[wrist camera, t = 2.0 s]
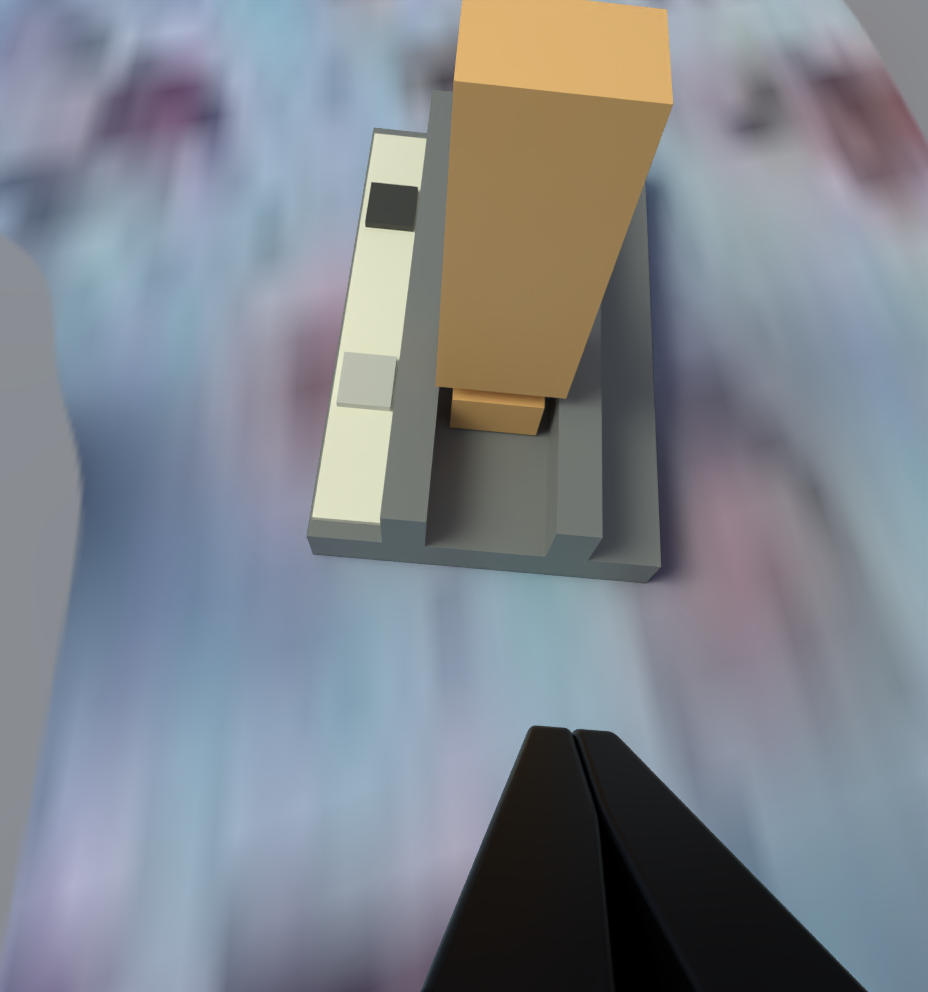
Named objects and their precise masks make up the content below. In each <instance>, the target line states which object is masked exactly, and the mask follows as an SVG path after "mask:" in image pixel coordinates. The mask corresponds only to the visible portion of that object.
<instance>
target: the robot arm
mask: <svg viewBox="0 0 928 992" xmlns="http://www.w3.org/2000/svg"><path fill="white" fill-rule="evenodd" d="M421 992H868V991H867V990H866V989H865V988H864V987H863V986H862V985H861V984H860V983H859V982H858V981H857V980H856V979H855V978H854V977H853V976H852V975H851V974H850V973H849V972H848V971H847V970H846V969H845V968H844V967H843V966H842V965H841V964H840V963H839V962H838V961H837V960H836V959H835V958H834V957H833V956H832V954H831V953H830V952H829V951H828V950H827V949H826V948H825V947H824V946H823V945H822V944H821V943H820V942H819V941H818V940H817V939H816V938H815V937H814V936H813V935H812V934H811V933H810V932H809V931H808V930H807V929H806V928H805V927H804V926H803V925H802V924H801V923H800V922H799V921H798V920H797V919H796V918H795V917H794V916H793V915H792V914H791V913H790V912H789V911H788V910H787V909H786V907H785V906H784V905H783V904H782V903H781V902H780V901H779V900H778V899H777V898H776V897H775V896H774V895H773V894H772V893H771V892H770V891H769V890H768V889H767V888H766V887H765V886H764V885H763V884H762V883H761V882H760V881H759V880H758V879H757V878H756V877H755V876H754V875H753V874H752V873H751V872H750V871H749V870H748V869H747V868H746V867H745V866H744V865H743V864H742V863H741V861H740V860H739V859H738V858H737V857H736V856H735V855H734V854H733V853H732V852H731V851H730V850H729V849H728V848H727V847H726V846H725V845H724V844H723V843H722V842H721V841H720V840H719V839H718V838H717V837H716V836H715V835H714V834H713V833H712V832H711V831H710V830H709V829H708V828H707V827H706V826H705V825H704V824H703V823H702V822H701V821H700V820H699V819H698V818H697V817H696V816H695V814H694V813H693V812H692V811H691V810H690V809H689V808H688V807H687V806H686V805H685V804H684V803H683V802H682V801H681V800H680V799H679V798H678V797H677V796H676V795H675V794H674V793H673V792H672V791H671V790H670V789H669V788H668V787H667V786H666V785H665V784H664V783H663V782H662V781H661V780H660V779H659V778H658V777H657V776H656V775H655V774H654V773H653V772H652V771H651V770H650V768H649V767H648V766H647V765H646V764H645V763H644V762H643V761H642V760H641V759H640V758H639V757H638V756H637V755H636V754H635V753H634V752H633V751H632V750H631V749H630V748H629V747H628V746H627V745H626V744H625V743H624V742H623V741H622V740H621V739H620V738H619V737H618V736H617V735H616V734H614V733H612V732H609V731H598V730H585V729H576V730H575V731H573V732H571V731H570V730H568V729H567V728H561V727H549V726H537V725H536V726H532V727H530V729H529V730H528V732H527V734H526V737H525V739H524V742H523V744H522V746H521V749H520V751H519V754H518V756H517V759H516V761H515V763H514V766H513V768H512V771H511V773H510V776H509V778H508V780H507V783H506V785H505V788H504V790H503V793H502V795H501V798H500V800H499V802H498V805H497V807H496V810H495V812H494V815H493V817H492V819H491V822H490V824H489V827H488V829H487V832H486V834H485V836H484V839H483V841H482V844H481V846H480V849H479V851H478V853H477V856H476V858H475V861H474V863H473V866H472V868H471V870H470V873H469V875H468V878H467V880H466V883H465V885H464V887H463V890H462V892H461V895H460V897H459V900H458V902H457V904H456V907H455V909H454V912H453V914H452V917H451V919H450V921H449V924H448V926H447V929H446V931H445V934H444V936H443V939H442V941H441V943H440V946H439V948H438V951H437V953H436V956H435V958H434V960H433V963H432V965H431V968H430V970H429V973H428V975H427V977H426V980H425V982H424V985H423V987H422V990H421Z"/></svg>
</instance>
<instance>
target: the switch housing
mask: <svg viewBox="0 0 928 992" xmlns="http://www.w3.org/2000/svg"><path fill="white" fill-rule="evenodd" d="M452 102H453V92H448V91H439V90H433V91H432V99H431V107H430V115H429V123H428V131H427V133H419V132H409V131H400V130H390V129H381V128H374V130H373V136H372V142H371V148H370V154H369V160H368V166H367V172H366V178H365V184H364V190H363V196H362V203H361V209H360V215H359V221H358V227H357V233H356V239H355V245H354V251H353V257H352V263H351V269H350V275H349V282H348V288H347V294H346V300H345V306H344V312H343V318H342V324H341V330H340V336H339V342H338V348H337V354H336V361H335V367H334V373H333V379H332V385H331V391H330V397H329V403H328V409H327V415H326V421H325V427H324V433H323V440H322V446H321V452H320V458H319V464H318V470H317V476H316V482H315V488H314V494H313V500H312V506H311V513H310V519H309V525H308V531H307V538H308V541H309V544H310V547H311V550H312V553H313V554H318V555H329V556H341V557H352V558H364V559H375V560H387V561H398V562H410V563H421V564H433V565H444V566H456V567H468V568H479V569H491V570H502V571H514V572H525V573H537V574H548V575H560V576H571V577H583V578H594V579H606V580H617V581H629V582H640V583H646V582H647V581H648V580H649V579H650V578H651V577H652V576H653V575H654V574H655V573H656V572H657V571H658V570H659V569H660V568H661V551H660V527H659V502H658V478H657V453H656V429H655V404H654V380H653V355H652V331H651V306H650V282H649V257H648V233H647V208H646V184H645V183H644V186H643V189H642V191H641V194H640V197H639V200H638V202H637V205H636V208H635V211H634V213H633V216H632V219H631V222H630V224H629V227H628V230H627V233H626V235H625V238H624V241H623V244H622V246H621V249H620V252H619V255H618V257H617V260H616V263H615V266H614V268H613V271H612V274H611V277H610V279H609V282H608V285H607V288H606V290H605V293H604V296H603V299H602V301H601V304H600V307H599V310H598V312H597V315H596V318H595V321H594V323H593V326H592V329H591V332H590V334H589V337H588V340H587V343H586V345H585V348H584V351H583V354H582V356H581V359H580V362H579V365H578V367H577V370H576V373H575V376H574V378H573V381H572V384H571V387H570V389H569V392H568V395H567V398H566V399H564V398H554V397H545V408H544V411H543V414H542V417H541V421H540V424H539V427H538V430H537V433H536V435H526V434H515V433H504V432H494V431H483V430H472V429H461V428H450V417H451V405H452V394H453V388H448V387H437V386H435V383H436V367H437V350H438V334H439V317H440V301H441V284H442V267H443V251H444V234H445V218H446V201H447V185H448V168H449V152H450V135H451V119H452Z"/></svg>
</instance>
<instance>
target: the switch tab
mask: <svg viewBox="0 0 928 992" xmlns="http://www.w3.org/2000/svg"><path fill="white" fill-rule="evenodd" d="M672 106H673V96H672V80H671V65H670V50H669V34H668V19H667V10H666V9H657V8H648V7H639V6H630V5H622V4H613V3H604V2H595V1H586V0H462V9H461V18H460V28H459V37H458V46H457V55H456V65H455V74H454V85H453V102H452V119H451V135H450V152H449V168H448V185H447V201H446V218H445V234H444V251H443V267H442V284H441V301H440V317H439V334H438V350H437V367H436V383H435V386H437V387H448V388H453V394H452V405H451V417H450V428H461V429H472V430H483V431H494V432H504V433H515V434H526V435H536V433H537V430H538V427H539V424H540V421H541V417H542V414H543V411H544V408H545V397H554V398H564V399H566V398H567V395H568V392H569V389H570V387H571V384H572V381H573V378H574V376H575V373H576V370H577V367H578V365H579V362H580V359H581V356H582V354H583V351H584V348H585V345H586V343H587V340H588V337H589V334H590V332H591V329H592V326H593V323H594V321H595V318H596V315H597V312H598V310H599V307H600V304H601V301H602V299H603V296H604V293H605V290H606V288H607V285H608V282H609V279H610V277H611V274H612V271H613V268H614V266H615V263H616V260H617V257H618V255H619V252H620V249H621V246H622V244H623V241H624V238H625V235H626V233H627V230H628V227H629V224H630V222H631V219H632V216H633V213H634V211H635V208H636V205H637V202H638V200H639V197H640V194H641V191H642V189H643V186H644V183H645V180H646V178H647V175H648V172H649V169H650V167H651V164H652V161H653V158H654V156H655V153H656V150H657V147H658V145H659V142H660V139H661V136H662V133H663V131H664V128H665V125H666V122H667V120H668V117H669V114H670V111H671V109H672Z"/></svg>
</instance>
